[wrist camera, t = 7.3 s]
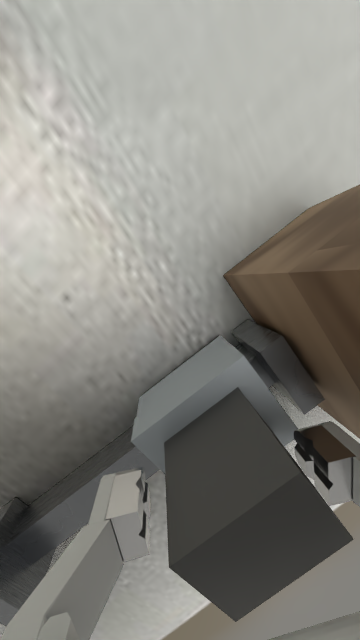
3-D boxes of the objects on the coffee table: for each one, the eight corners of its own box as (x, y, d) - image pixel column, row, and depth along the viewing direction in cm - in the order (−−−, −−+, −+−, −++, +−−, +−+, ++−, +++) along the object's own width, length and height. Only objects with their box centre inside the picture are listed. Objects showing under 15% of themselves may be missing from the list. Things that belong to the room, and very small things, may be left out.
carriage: (189, 449, 13) (226, 656, 6) (138, 396, 12) (109, 570, 5) (264, 393, 13) (398, 538, 6) (219, 333, 12) (314, 419, 5)
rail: (48, 541, 14) (12, 629, 11) (1, 508, 13) (-56, 592, 10) (280, 367, 13) (325, 399, 10) (247, 319, 12) (282, 335, 9)
